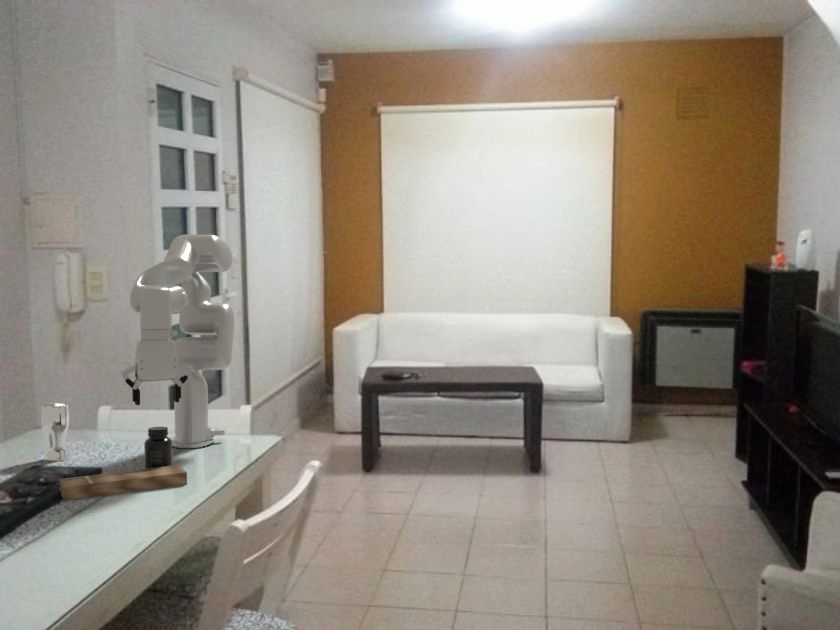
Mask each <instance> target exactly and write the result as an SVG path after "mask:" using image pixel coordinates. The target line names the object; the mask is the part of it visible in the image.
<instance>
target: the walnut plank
mask: <svg viewBox="0 0 840 630" xmlns="http://www.w3.org/2000/svg"><path fill="white" fill-rule="evenodd" d="M184 485H188V471H186V470H185V469H184V468H183V467H182V466H181V465H179V464H175V465H174V464H173V466H165V467H157V468H148V469H145V468H139V469H131V470H126V471H124V470H123V471H118V472H107V473H100V474H99V473H98V474H92V475H83V476H76V477H75V476H74V477H66V478H59V492H60V491H61V493H60V495H61V496H62V497H61V498H62V499H63V501H70V500H76V499H77V500H78V499H84V498H93V497H94V498H95V497H100V496H101V497H102V496H106V495H107V496H108V495H114V494H123V493H130V492H137V491H138V492H139V491H145V490H152V489H161V488H162V489H163V488H168V487H176V486H184Z"/></svg>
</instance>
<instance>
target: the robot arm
mask: <svg viewBox="0 0 840 630" xmlns="http://www.w3.org/2000/svg"><path fill="white" fill-rule="evenodd" d="M232 262H233V255H232V250H231V248H230V247H229V244H228V243H226V242H225V241H224V240H223V239H222V238H220V237H219V236H217V235H214V234H181V235H180V234H179V235H178V236H176V237H175V238H174V239H173V240H172V241H171V244H170V245H169V247H168V250H167V252H166V255H165V257H164V259H163V261H161V262H158V263H157V264H154V265H153V266H151V267H149V268H147V269H146V270H144V271H143V272H141V273H140V274H139V275H138V276H137V278H136V279H135V282H134V284H133V287H132V289H131V292H130V295H129V296H130V297H129V304H130V307H131V309H132V311H133V312H135V313H136V314H140V315H139V316H140V320H139V321H140V325H139V326H140V341H138V340H137V342H136V345H135V346H136V348H135V355H134V356H135V357H134V364H132V365H131V366H130V367H127V368H126V369H124V370H122V371H121V372H120V375H121V377H122V379H123V380H124V382H125V384H126V385H128V386H129V387H130V388H131V389H132V390H131V391H132V397H131V398H132V402H133V403H134V405H136V406H140V405H141V390H140V389H139V388H140V386H141V385H142V383H143V382H159V381H172V382H173V386H172V387H173V388H172V391H173V392H172V393H173V394H172V395H173V396H172V397H173V399H172V400H173V401H174V402H173V404H174V438H170V439H171V440H172V446H173V447H172V448H176V447H177V448H178V449H199V448H204V447H203V446H205V447H208V446H207V445H209V444H211V443H213V442H214V441H215V439H214V437H216V436H219V437H220V436H224V435H225V432H226V431H225V429H224V428H219V429H218V428H211V427H210V426H209V395H208V394H209V392H208V390H209V389H208V387H209V386H208V382H207V380H206V378H205V377H204V376H203V374H202V373H201V371H220V370H221V371H222V370H226V369H227V368H229V367H230V365H231V362H232V358H233V347H234V346H233V343H234V334H235V333H234V331H235V330H234V329H235V314H234V313H235V312H234V310H233V307H231V306H230V305H229V304H227V303H224V302H223V303H222V302H211V298H212V297H211V296H212V288H211V286H210V284H209V283H208V281H207V280H206V279H205V278H204V277H203V276H202V275H201V274H200V272H201V273H208V272H209V273H225V272H228V270H229V269H230V268H231V266H232ZM180 285H181V286H180ZM178 314H179V318H178V319H179V320H178V323H179V324H178V325H179V329H180V331H181V332H182V333H183V334H186V335H195V337H193V336H191V337H190V336H187V337H186V336H185V337H180V338H177V339H176V340H173V338H174V337H176V336H178V330H174V329H173V328H172V325H173V324H172V322H173V321H172V315H178ZM197 335H199V336H198V337H196V336H197ZM200 335H202V336H201V337H200ZM203 336H207V337H203ZM208 336H211V337H208ZM212 336H216V337H212ZM133 372H134V377H135V379H134V380H132V379H130V376H129V375H130V374H132V373H133ZM213 444H214V443H213ZM211 445H212V444H211ZM209 446H210V445H209Z"/></svg>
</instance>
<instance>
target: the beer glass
mask: <svg viewBox="0 0 840 630" xmlns="http://www.w3.org/2000/svg"><path fill="white" fill-rule="evenodd" d="M40 419H41V430H42V434H43V439H44V445H45V453H44V458H43V459H44V461H46V462H61V461H65V460H68V458H69V453H68V448H67V441H68V436H69V435H68V434H69V430H70V429H69V427H70V413H69V404H68V403H67V402H49V403H44V404H42V405H41V418H40Z"/></svg>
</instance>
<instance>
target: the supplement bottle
mask: <svg viewBox="0 0 840 630" xmlns="http://www.w3.org/2000/svg"><path fill="white" fill-rule="evenodd" d="M168 431H169V430H168V427H167V426H153V427H149V428H148V429H147V432H148V433H147V436H148V438H147V439H145V441H144V442H143V443H144V445H143V446H144V448H143V449H144V469H148V468H157V467H165V466H174V464H173V461H174V460H173V447H172V440H171V439H172V438H170V437H168V435H169V432H168Z"/></svg>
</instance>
